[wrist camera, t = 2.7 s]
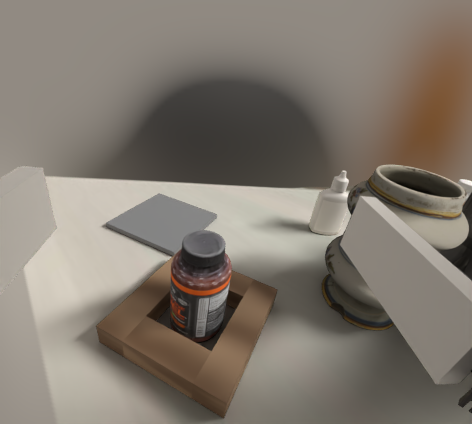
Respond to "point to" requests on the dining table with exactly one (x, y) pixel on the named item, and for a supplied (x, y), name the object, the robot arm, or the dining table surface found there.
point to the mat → (162, 222)
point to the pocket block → (183, 349)
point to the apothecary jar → (410, 212)
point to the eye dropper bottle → (330, 207)
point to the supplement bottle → (199, 286)
